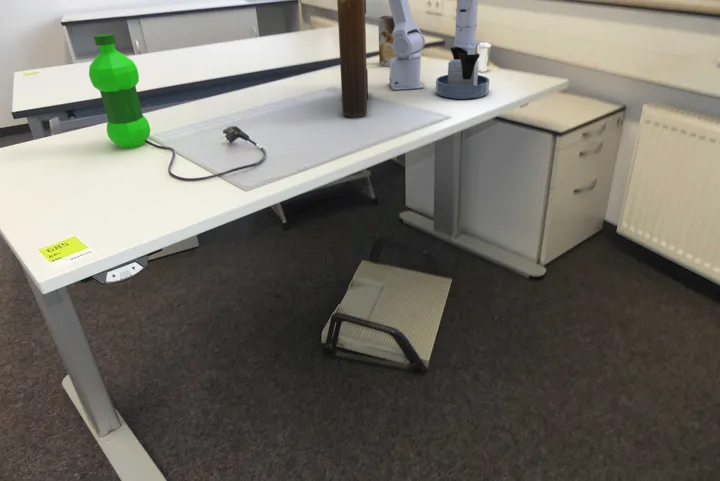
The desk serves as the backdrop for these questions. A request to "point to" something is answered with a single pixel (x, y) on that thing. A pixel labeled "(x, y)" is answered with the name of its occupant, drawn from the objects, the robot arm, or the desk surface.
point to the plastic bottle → (119, 93)
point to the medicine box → (460, 74)
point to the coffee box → (386, 40)
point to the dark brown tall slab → (353, 56)
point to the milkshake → (483, 56)
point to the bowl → (462, 88)
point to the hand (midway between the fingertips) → (463, 75)
